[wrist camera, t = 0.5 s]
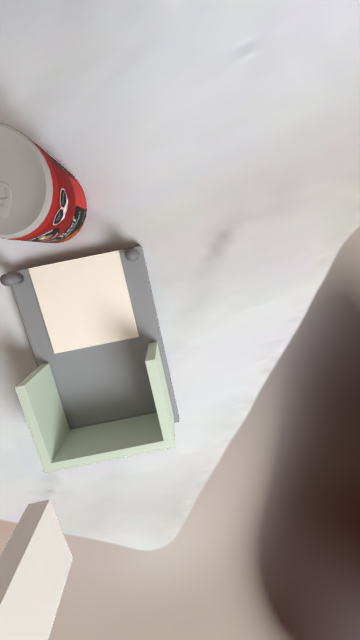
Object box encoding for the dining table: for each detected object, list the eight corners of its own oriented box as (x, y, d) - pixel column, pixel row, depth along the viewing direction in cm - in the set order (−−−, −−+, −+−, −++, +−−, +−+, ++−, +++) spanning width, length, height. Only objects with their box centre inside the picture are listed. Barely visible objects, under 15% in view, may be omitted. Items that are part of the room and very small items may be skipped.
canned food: (37, 253, 33) (-26, 252, 22) (4, 181, 31) (-82, 142, 20) (100, 229, 33) (67, 217, 22) (71, 155, 31) (19, 103, 20)
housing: (40, 364, 34) (14, 387, 28) (157, 341, 34) (155, 359, 28) (64, 438, 37) (44, 473, 31) (173, 416, 37) (175, 447, 31)
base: (12, 272, 33) (-6, 274, 30) (141, 246, 33) (138, 245, 30) (66, 439, 38) (55, 458, 35) (178, 416, 38) (180, 433, 34)
